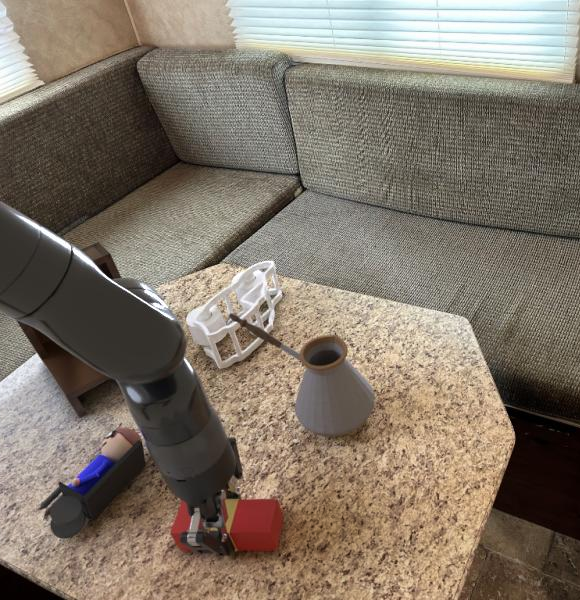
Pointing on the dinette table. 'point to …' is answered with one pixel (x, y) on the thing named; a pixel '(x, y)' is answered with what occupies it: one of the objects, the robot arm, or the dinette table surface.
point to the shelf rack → (60, 362)
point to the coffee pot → (325, 384)
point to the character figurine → (96, 483)
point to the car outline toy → (251, 296)
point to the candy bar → (241, 524)
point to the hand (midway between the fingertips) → (231, 531)
